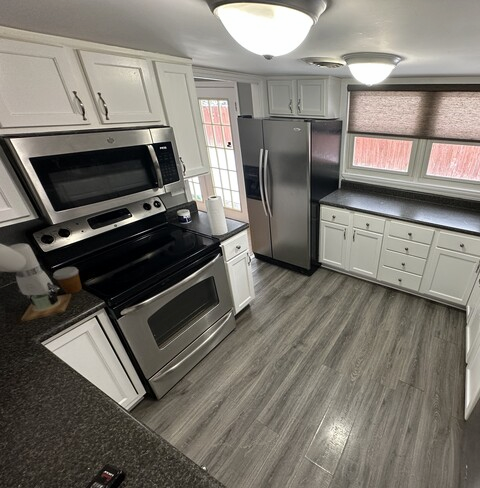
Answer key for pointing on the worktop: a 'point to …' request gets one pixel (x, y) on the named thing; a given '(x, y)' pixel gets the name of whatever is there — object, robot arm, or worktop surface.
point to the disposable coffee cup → (68, 279)
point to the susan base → (58, 309)
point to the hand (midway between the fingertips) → (46, 302)
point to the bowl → (43, 303)
